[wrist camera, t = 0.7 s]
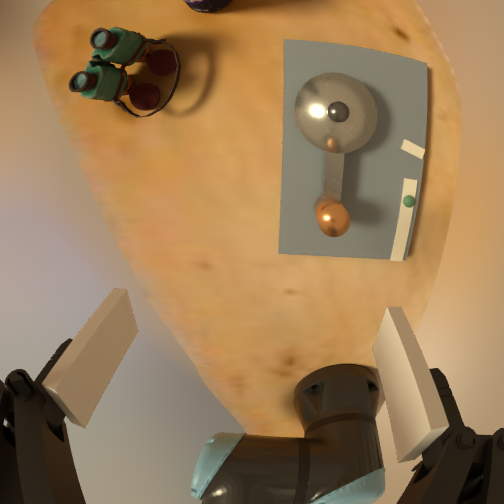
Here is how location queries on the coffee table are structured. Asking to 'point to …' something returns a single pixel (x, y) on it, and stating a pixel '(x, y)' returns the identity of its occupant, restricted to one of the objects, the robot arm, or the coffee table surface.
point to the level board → (356, 155)
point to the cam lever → (334, 136)
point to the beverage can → (207, 5)
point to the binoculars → (116, 79)
